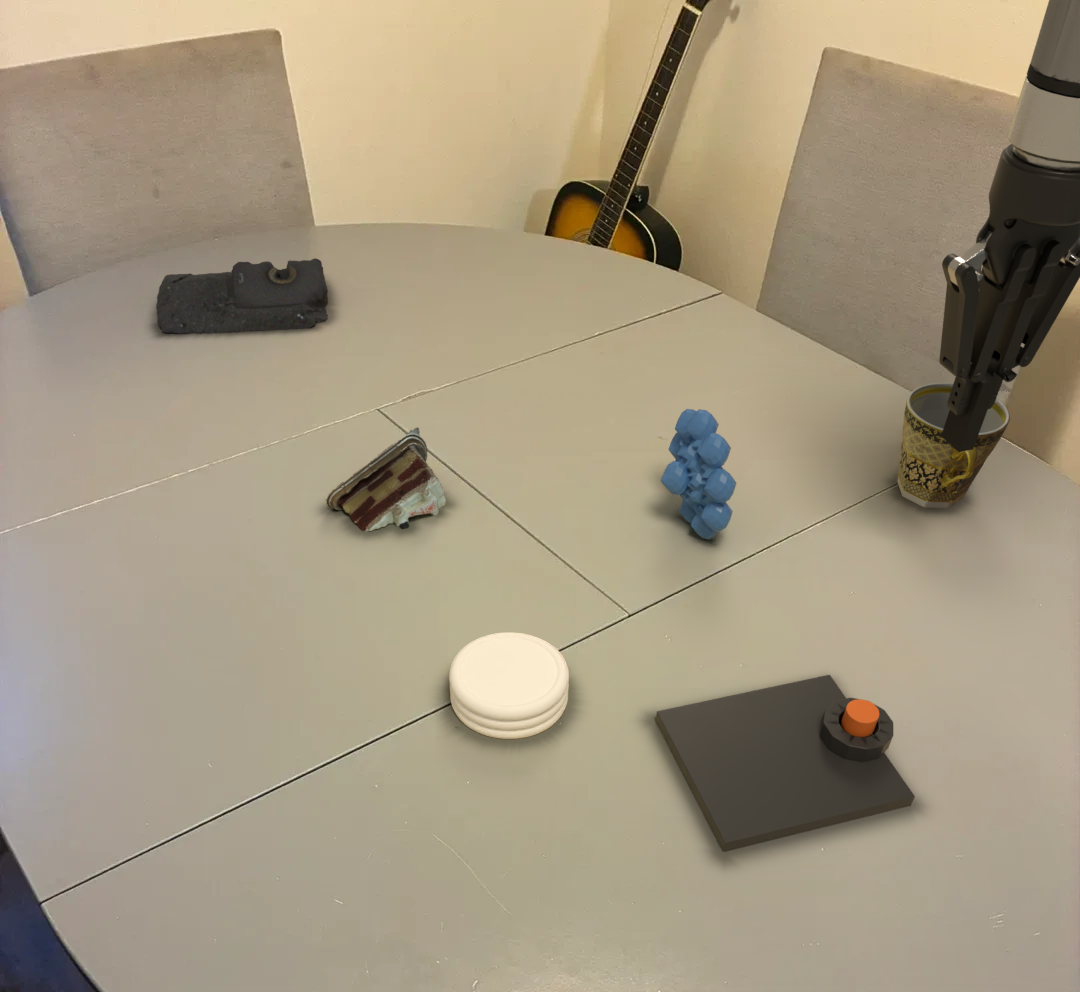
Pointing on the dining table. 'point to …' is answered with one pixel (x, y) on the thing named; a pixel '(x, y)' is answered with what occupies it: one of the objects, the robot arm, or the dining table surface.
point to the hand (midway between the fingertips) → (956, 442)
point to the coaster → (509, 685)
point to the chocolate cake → (391, 487)
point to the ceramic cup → (941, 449)
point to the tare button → (860, 718)
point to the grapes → (700, 473)
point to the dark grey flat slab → (781, 762)
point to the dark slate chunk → (244, 299)
